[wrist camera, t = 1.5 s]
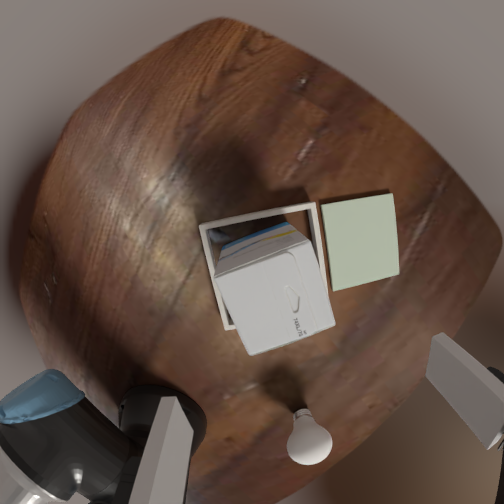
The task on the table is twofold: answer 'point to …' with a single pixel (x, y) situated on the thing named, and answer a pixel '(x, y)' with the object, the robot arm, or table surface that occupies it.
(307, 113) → the table surface
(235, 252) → the ink box
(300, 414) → the light bulb
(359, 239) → the mat
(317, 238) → the tray rim
